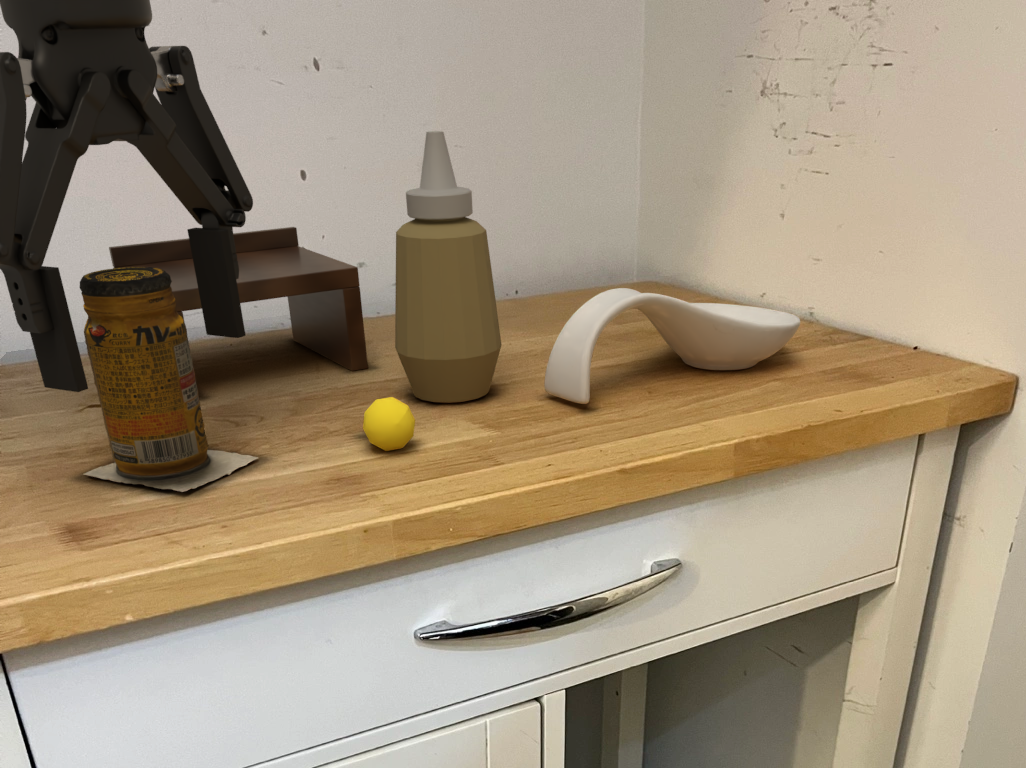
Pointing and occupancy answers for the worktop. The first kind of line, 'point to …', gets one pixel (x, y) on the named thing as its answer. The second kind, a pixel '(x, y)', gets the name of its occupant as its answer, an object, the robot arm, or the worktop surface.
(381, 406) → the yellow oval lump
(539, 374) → the worktop surface
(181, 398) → the condiment
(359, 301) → the walnut shelf
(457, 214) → the squeeze bottle
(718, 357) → the spoon rest
